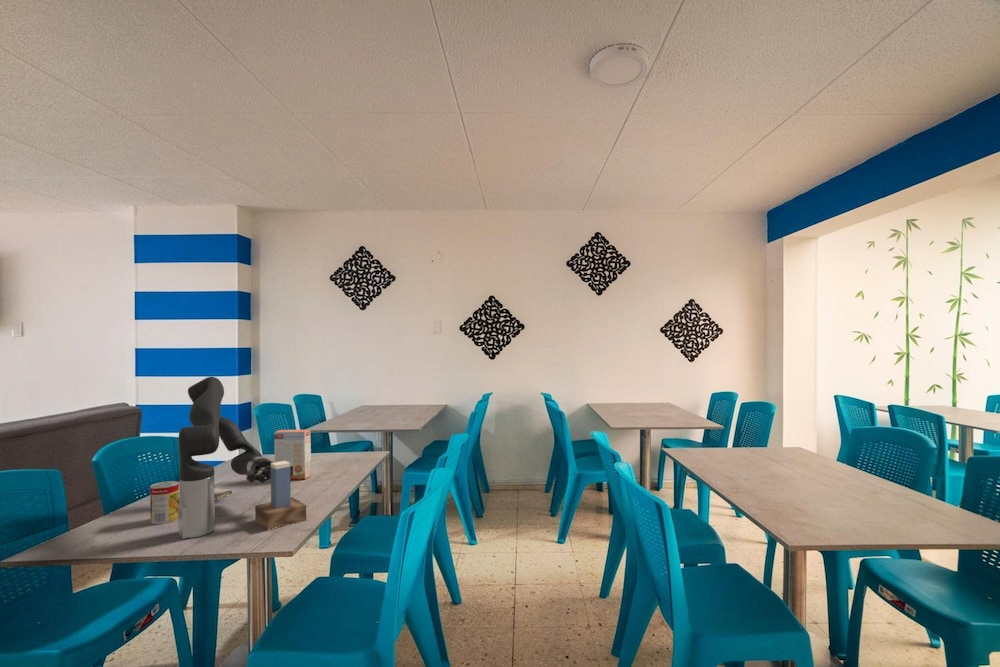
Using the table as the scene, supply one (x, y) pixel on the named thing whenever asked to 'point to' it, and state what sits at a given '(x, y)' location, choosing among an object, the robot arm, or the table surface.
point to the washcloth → (219, 493)
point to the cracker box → (294, 451)
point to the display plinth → (280, 514)
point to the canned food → (164, 502)
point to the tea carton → (280, 484)
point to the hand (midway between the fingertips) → (277, 476)
